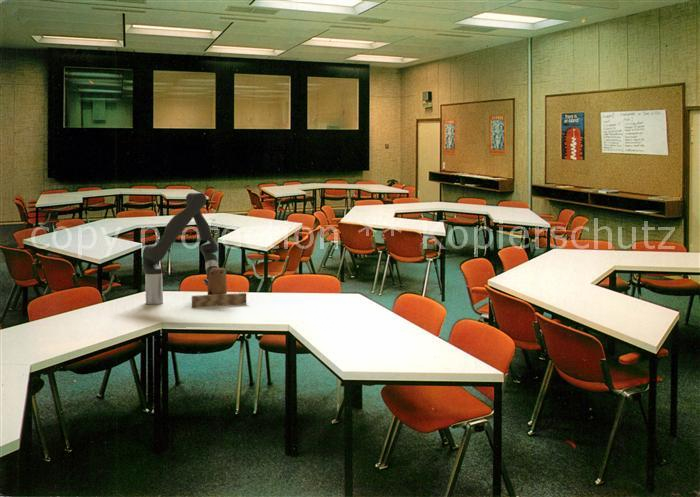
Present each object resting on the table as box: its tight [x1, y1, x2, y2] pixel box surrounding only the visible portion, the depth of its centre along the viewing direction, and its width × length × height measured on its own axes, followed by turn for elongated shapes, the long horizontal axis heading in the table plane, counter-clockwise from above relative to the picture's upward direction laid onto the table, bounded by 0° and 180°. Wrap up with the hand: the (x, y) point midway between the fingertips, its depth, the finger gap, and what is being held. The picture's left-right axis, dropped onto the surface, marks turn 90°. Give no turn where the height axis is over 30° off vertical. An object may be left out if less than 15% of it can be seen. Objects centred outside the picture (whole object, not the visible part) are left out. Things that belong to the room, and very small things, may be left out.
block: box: [207, 267, 228, 295], centre depth 339 cm, size 11×8×20 cm
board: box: [191, 292, 247, 308], centre depth 331 cm, size 30×3×6 cm, turn 111°
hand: (216, 292), depth 343 cm, fingers closed
